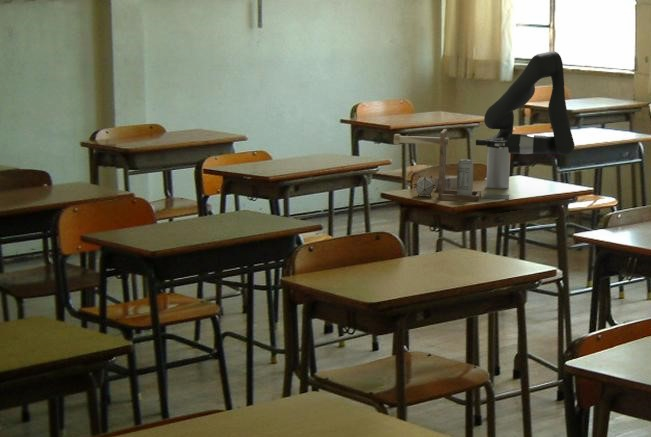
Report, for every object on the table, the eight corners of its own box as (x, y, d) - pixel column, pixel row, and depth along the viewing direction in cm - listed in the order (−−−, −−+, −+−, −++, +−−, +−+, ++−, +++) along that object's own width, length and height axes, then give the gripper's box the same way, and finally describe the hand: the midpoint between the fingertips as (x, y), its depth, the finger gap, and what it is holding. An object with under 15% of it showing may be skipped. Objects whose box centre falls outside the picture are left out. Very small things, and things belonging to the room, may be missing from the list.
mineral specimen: (456, 188, 501) (456, 172, 500) (465, 190, 495) (465, 175, 494) (429, 189, 496) (429, 174, 495) (438, 192, 490) (438, 176, 489)
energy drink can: (475, 198, 476) (476, 160, 473) (466, 200, 471) (467, 161, 469) (462, 196, 480) (464, 158, 477) (453, 198, 475) (454, 159, 472)
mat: (484, 194, 485) (484, 193, 485) (509, 195, 483) (509, 194, 483) (482, 198, 475) (482, 197, 475) (508, 199, 473) (508, 198, 473)
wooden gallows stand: (441, 194, 483) (443, 128, 479) (480, 196, 481) (483, 130, 476) (438, 199, 471) (440, 132, 466) (478, 201, 468) (481, 134, 463)
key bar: (395, 143, 479) (395, 133, 478) (448, 145, 475) (449, 136, 475) (393, 144, 475) (393, 135, 474) (447, 146, 471) (448, 137, 470)
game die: (427, 205, 481) (441, 184, 482) (427, 200, 472) (441, 179, 473) (408, 192, 482) (422, 172, 483) (407, 188, 474) (422, 167, 475)
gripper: (522, 132, 473) (477, 130, 476) (520, 136, 460) (474, 134, 464) (521, 151, 474) (477, 149, 478) (520, 155, 462) (474, 153, 465)
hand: (476, 142), depth 471 cm, fingers closed
